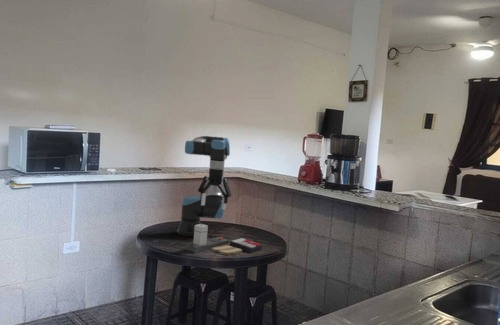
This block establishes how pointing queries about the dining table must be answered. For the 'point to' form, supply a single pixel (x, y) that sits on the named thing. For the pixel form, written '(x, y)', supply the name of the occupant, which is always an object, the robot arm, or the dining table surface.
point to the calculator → (246, 245)
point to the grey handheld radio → (210, 244)
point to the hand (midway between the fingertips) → (213, 207)
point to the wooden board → (226, 250)
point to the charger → (200, 234)
